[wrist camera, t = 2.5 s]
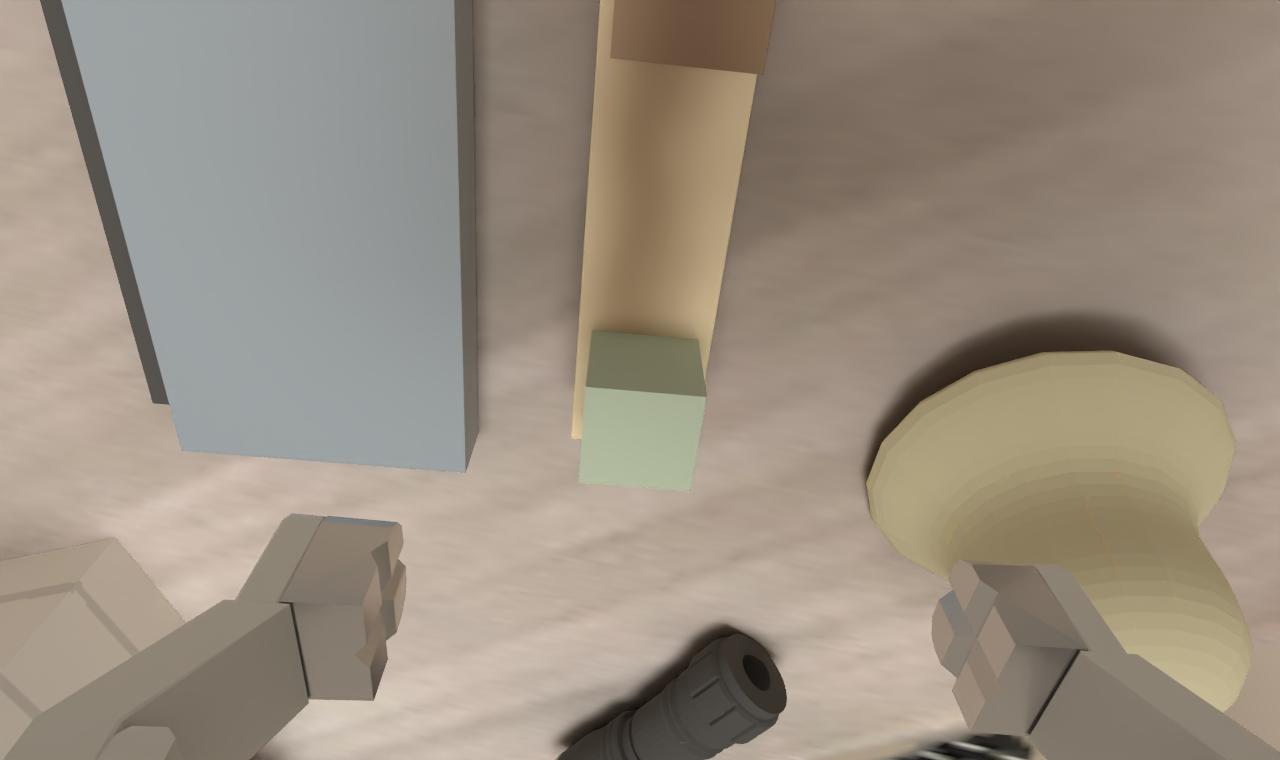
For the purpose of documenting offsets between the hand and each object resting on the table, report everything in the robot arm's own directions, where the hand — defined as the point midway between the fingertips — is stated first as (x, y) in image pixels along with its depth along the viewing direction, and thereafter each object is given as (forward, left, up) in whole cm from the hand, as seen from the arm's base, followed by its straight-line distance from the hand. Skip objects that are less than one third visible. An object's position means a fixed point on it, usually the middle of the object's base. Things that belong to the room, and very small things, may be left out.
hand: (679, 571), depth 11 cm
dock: (+13, 0, -21) cm, 24 cm away
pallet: (0, 0, -21) cm, 21 cm away
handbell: (-19, +12, -21) cm, 31 cm away
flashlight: (-4, +32, -21) cm, 39 cm away
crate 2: (0, +7, -17) cm, 18 cm away
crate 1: (0, -7, -17) cm, 18 cm away
